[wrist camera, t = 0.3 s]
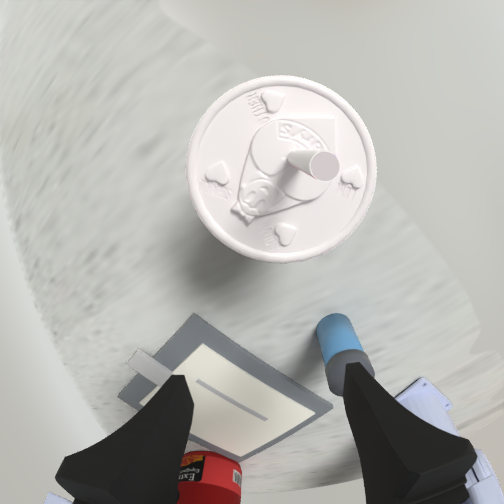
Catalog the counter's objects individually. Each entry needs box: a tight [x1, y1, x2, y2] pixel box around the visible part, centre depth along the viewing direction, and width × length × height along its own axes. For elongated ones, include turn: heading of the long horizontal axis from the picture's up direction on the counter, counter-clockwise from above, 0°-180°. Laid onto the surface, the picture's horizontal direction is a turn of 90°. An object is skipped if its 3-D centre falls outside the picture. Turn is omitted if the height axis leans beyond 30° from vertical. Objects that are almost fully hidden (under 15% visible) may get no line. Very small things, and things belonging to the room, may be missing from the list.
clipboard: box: [118, 313, 333, 462], centre depth 25 cm, size 18×14×1 cm
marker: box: [316, 313, 375, 397], centre depth 19 cm, size 3×3×6 cm
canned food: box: [177, 451, 242, 504], centre depth 25 cm, size 8×8×11 cm
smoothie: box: [186, 75, 377, 263], centre depth 12 cm, size 6×6×14 cm
